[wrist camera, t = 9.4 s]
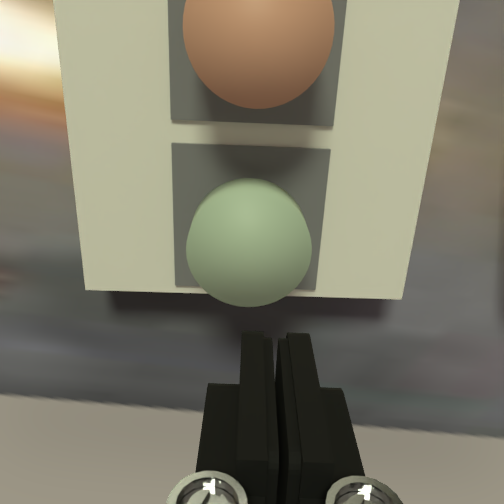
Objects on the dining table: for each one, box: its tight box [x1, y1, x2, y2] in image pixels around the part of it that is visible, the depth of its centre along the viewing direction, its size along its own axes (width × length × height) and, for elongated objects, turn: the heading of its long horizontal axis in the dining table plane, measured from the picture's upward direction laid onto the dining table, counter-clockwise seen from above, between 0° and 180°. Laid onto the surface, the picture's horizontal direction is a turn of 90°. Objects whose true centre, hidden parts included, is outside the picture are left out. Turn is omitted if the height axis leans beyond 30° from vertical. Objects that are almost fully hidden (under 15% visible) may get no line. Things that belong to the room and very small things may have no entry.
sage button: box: [186, 178, 312, 307], centre depth 20 cm, size 5×5×2 cm
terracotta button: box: [183, 0, 335, 109], centre depth 16 cm, size 5×5×2 cm
